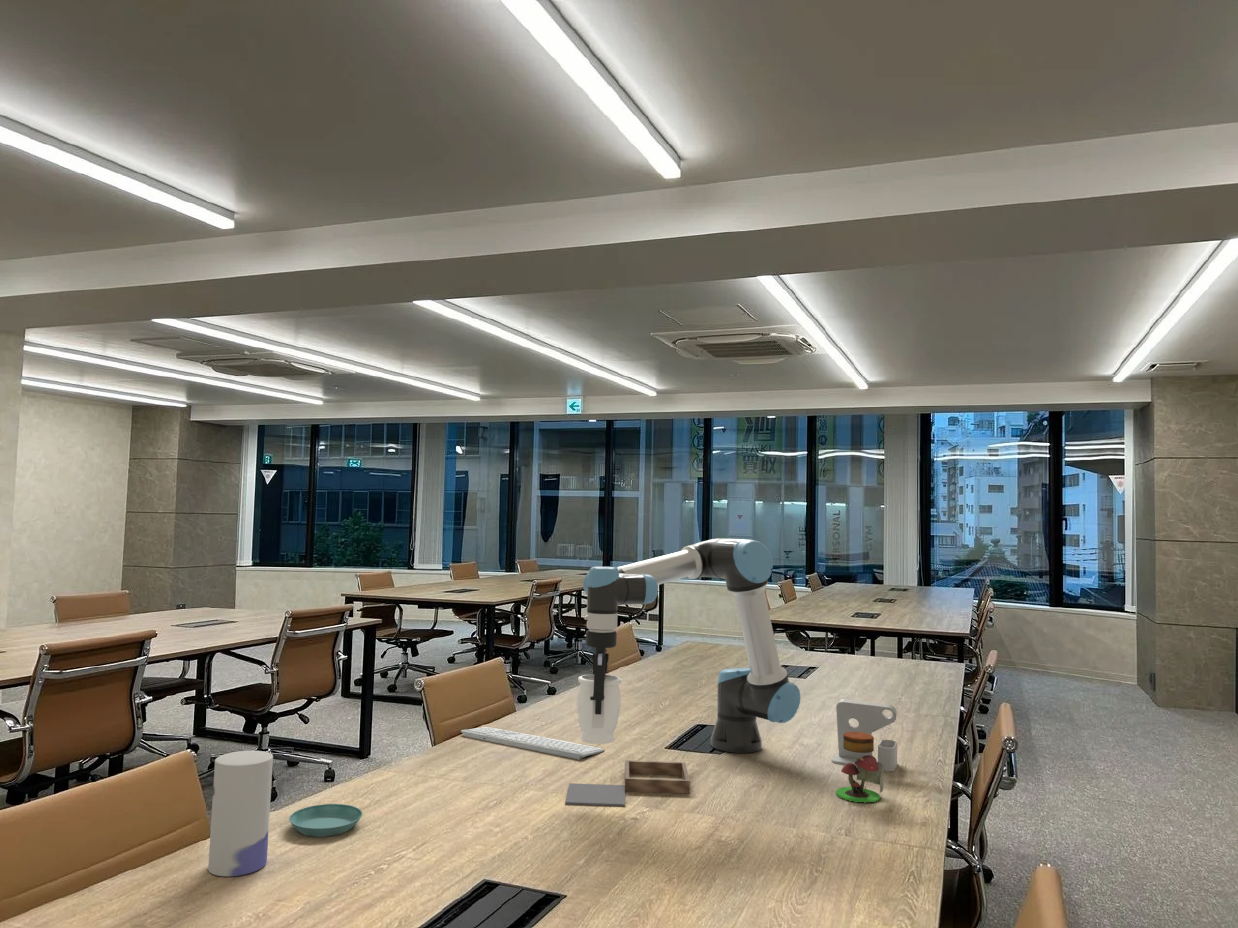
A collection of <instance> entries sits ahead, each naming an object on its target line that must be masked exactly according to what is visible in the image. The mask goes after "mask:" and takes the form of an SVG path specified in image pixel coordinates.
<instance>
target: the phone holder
mask: <svg viewBox="0 0 1238 928" xmlns="http://www.w3.org/2000/svg"><path fill="white" fill-rule="evenodd" d="M835 708H836V709H835V710H836V726H837V745H838V746H837V747H838V752H837V753H835V754H834V756H833V757H832V759H831V763H833V764H835V765H844V766H845V765H846V764H848V763H852V764H854V765H855V766H856V767H857V765H856V764H855V761H857V758H861V757H863V756H866V755H871V756H873V754H874V753H873V752H870V753H857V752H851V751H848V750H846V749H844V748H843V737H844V733H846V732H862V733H867V734H870V735H872V736H873V734H872V733H874V732H876V731H878V730H881V729H884V728H885V727H887V726H889V725H891V724H893V723H895V722H896V720H897V717H898V716H897V715H898V714H897V708H895V706H894V705H891V704H887V703H881V702H880V703H879V702H872V701H871V702H870V701H863V700H862V701H861V700H855V699H848V698H847V699H846V698H841V699H839V700H838V701H837V703H836V707H835ZM886 710H887V711H890V712H891V714H892V715H891V716H886V715H884V714H883V712H884V711H886ZM851 719H852V720H853V719H854V720H856V721H857V722H858V725H857V726H852V725H851V724H850V722H849V721H850V720H851ZM873 757H874V756H873ZM875 758H876V760H877V762H879V763H881V764H882V765H883V770H885V771H884V772H888V771H894V770H896V769H895V768H897V766H898V742H897V741H895V740H892V739H881V740H880V741H879V743H878V745H877V757H875ZM894 772H895V771H894Z"/></svg>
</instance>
